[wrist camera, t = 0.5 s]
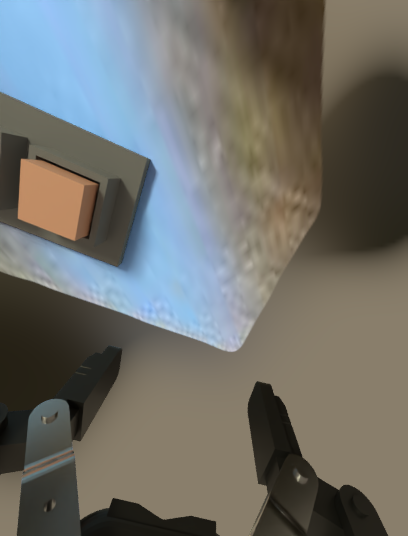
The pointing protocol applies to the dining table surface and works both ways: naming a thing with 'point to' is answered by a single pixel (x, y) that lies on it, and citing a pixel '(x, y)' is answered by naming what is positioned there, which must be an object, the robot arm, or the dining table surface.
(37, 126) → the key panel
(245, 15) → the dining table surface
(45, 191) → the terracotta key
